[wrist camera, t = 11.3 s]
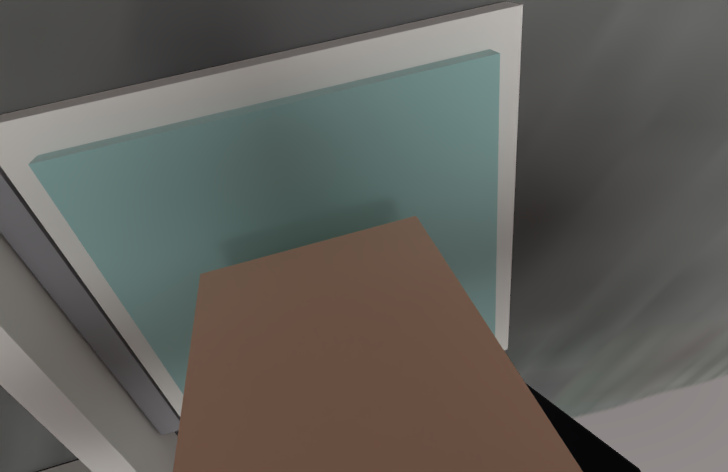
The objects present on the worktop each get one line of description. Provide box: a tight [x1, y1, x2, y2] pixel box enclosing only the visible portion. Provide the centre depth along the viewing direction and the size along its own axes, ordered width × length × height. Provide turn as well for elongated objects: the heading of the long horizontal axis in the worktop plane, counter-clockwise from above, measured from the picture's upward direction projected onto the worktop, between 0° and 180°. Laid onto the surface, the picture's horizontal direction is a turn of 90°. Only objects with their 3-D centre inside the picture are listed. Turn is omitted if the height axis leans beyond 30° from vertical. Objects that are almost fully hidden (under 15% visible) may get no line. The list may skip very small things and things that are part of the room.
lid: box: [0, 1, 523, 435], centre depth 13 cm, size 13×12×1 cm
